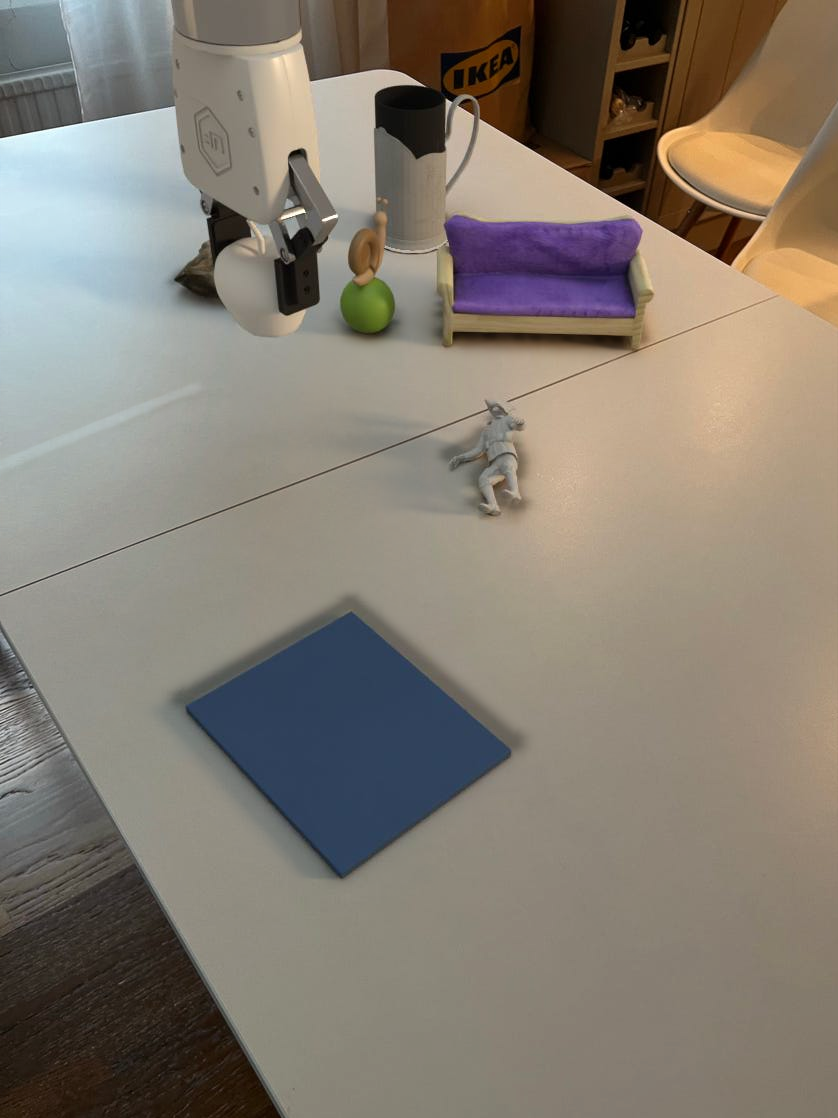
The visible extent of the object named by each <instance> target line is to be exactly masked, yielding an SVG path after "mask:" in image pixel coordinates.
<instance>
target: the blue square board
mask: <svg viewBox="0 0 838 1118" xmlns="http://www.w3.org/2000/svg"><path fill="white" fill-rule="evenodd" d="M185 710H186V712H187V714H188V715H189V716H190V717H191V718H192V719H193V720H194V721H195V722H196V724H198V726H199V727H200V728H201V729H202V730H203V731H204V732H205V733H206V734H207V735H208V736H209V737H210V738H211V739H212V741H213V742H214V743H215V744H216V745H217V746H218V747H219V748H220V749H221V750H222V751H223V753H224V754H225V755H226V756H227V757H228V758H229V759H230V760H231V761H232V763H234V764H235V766H237V768H238V769H239V770H240V771H241V772H242V773H243V774H244V775H245V776H246V778H247V779H248V780H250V782H251V783H252V784H253V785H254V786H255V787H256V788H257V789H258V791H260V793H261V794H262V795H263V796H264V797H265V798H266V799H267V800H268V801H269V802H270V803H271V804H272V806H274V807H275V809H276V810H277V811H278V812H279V813H280V814H281V815H282V816H283V817H284V818H285V820H287V822H288V823H289V824H290V825H291V826H292V827H293V828H294V829H295V830H296V832H298V833H299V835H301V837H302V838H303V839H304V840H305V841H306V842H307V843H308V844H309V846H311V847H312V849H313V850H314V851H315V852H316V853H317V854H318V855H319V856H320V857H321V858H322V859H323V860H324V862H325V863H326V864H327V865H328V866H329V867H330V868H331V869H332V870H333V871H334V872H335V873H336V874H337V876H338V877H339V878H341V879H343V878H345V877H346V876H347V875H349V874H350V873H352V872H353V871H354V870H356V869H358V867H360V866H361V865H362V864H364V863H365V862H367V861H368V860H369V859H370V858H372V857H373V856H375V855H376V854H378V853H379V852H381V851H382V850H383V849H385V848H386V847H387V846H389V845H390V844H391V843H393V842H394V841H396V840H397V839H398V838H400V837H402V835H403V834H405V833H406V832H408V831H410V830H411V829H412V828H413V827H415V826H416V825H417V824H419V823H420V822H422V821H423V820H425V818H427V817H428V816H430V815H431V814H432V813H434V812H435V811H437V810H438V809H439V808H440V807H442V806H444V805H445V804H446V803H447V802H449V801H450V800H452V799H453V798H454V797H456V796H457V795H458V794H460V793H461V792H463V791H464V790H465V789H467V788H468V787H469V786H471V785H472V784H473V783H475V782H477V780H479V779H480V778H482V777H483V776H485V775H486V774H487V773H488V772H490V771H491V770H493V769H494V768H496V767H497V766H499V764H501V763H503V762H504V761H505V760H506V759H508V758H509V757H511V755H512V748H510V747H509V746H508V745H507V744H505V743H504V742H503V741H502V740H500V739H499V738H498V737H497V736H496V735H495V734H494V733H493V732H492V731H490V730H489V729H488V728H487V727H486V726H484V725H483V724H482V723H481V722H480V721H479V720H478V719H476V717H474V716H473V715H472V714H471V713H469V712H468V711H467V710H466V709H465V708H464V707H463V706H461V705H460V704H459V703H458V702H457V701H455V699H453V698H452V697H451V696H450V695H449V694H447V693H446V692H445V691H444V690H443V689H442V688H441V687H440V686H438V685H437V683H435V682H434V681H433V680H432V679H430V678H429V677H428V676H427V675H426V674H425V673H424V672H422V670H420V669H419V668H418V667H416V666H415V664H413V663H412V662H411V661H410V660H409V659H407V658H406V657H405V656H404V655H403V654H402V653H400V652H399V651H398V650H397V649H396V648H395V647H394V646H393V645H391V644H390V643H389V642H388V641H386V640H385V639H384V638H383V637H382V636H381V635H380V634H379V633H377V632H376V631H375V630H374V629H373V628H372V627H371V626H369V625H368V624H367V623H366V621H365V622H364V620H362V618H360V617H359V616H358V615H356V613H354V612H353V611H349V612H347V613H346V614H344V615H342V616H340V617H339V618H337V619H335V620H333V621H331V622H330V623H328V624H326V625H324V626H323V627H321V628H319V629H318V630H316V631H314V632H312V633H311V634H308V635H307V636H306V637H303V638H301V639H300V640H299V641H297V642H295V643H293V644H292V645H289V646H288V647H286V648H284V649H283V650H281V651H279V652H277V653H276V654H274V655H272V656H270V657H268V658H266V660H263V661H262V662H260V663H258V664H257V665H255V666H253V667H251V668H250V669H248V670H246V671H244V672H242V673H241V674H239V675H237V676H235V677H234V678H232V679H230V680H229V681H227V682H225V683H223V684H222V685H220V686H218V687H216V688H214V689H213V690H211V691H209V692H208V693H206V694H204V695H203V696H200V697H199V698H197V699H196V700H193V701H192V702H190V703H188V704H187V705H185Z"/></svg>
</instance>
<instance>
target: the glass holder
mask: <svg viewBox="0 0 838 1118" xmlns="http://www.w3.org/2000/svg"><path fill="white" fill-rule="evenodd" d="M468 99H469V100H470V101H471V103H472V105H473V123H472V124H473V125H472V130H471V136H470V140H469V143H468V147H467V149H466V152H465V154H464V157H463V159H462V160H461V163H460V165H459V166H458V168H457V170H456V171H455V173H454V174H453V175H452V177H451V178H450V179H449V181H448V183H447V152H448V151H447V146H446V143H447V142H448V141H449V140H450V139H451V136H452V131H453V119H454V116H455V112H456V110H457V107H458V106H459V105H460V104H461V102H462V101H464V100H468ZM446 112H447V98H446V95H445V94H444V93H443V92H442V91H440V90H438V89H435V88H432V87H429V86H424V85H418V84H399V85H391V86H387V87H384V88H381V89H380V90H378V91H376V92H375V94H374V126H375V127H373V145H374V146H373V149H374V154H373V155H374V181H375V183H374V184H375V185H374V186H375V200H376V199H377V198H378V197H379V198H381V200H383V199H386V200H387V201H388V203H387V205H386V216H387V222H386V226H385V232H386V237H385V245H386V246H388V247H391V248H395V249H400V250H410V251H415V250H425V249H430V248H433V247H436V246H438V245H440V244H442V243H443V242H444V241H445V240H446V239H447V236H446V231H445V228H444V223H445V222H446V202H447V201H446V199H447V196H448V194H449V192H451V190H452V189H453V188H454V186H455V184H456V183H457V182H458V180H459V179H460V177H461V175H462V174H463V173H464V171H465V170H466V168H467V166H468V164H469V163H470V160H471V158H472V155H473V153H474V150H475V146H476V144H477V143H476V142H477V140H478V135H479V129H480V118H481V112H480V105H479V102H478V100H477V99H476V98H475V97H474V96H473V95H470V94H465V93H463V94H460V95H458V96H457V97H456V98H454V100H453V101H452V102H451V104H450V106H449V108H448V112H447V113H446ZM446 115H447V116H446ZM379 206H380V211H382V212H385V205H383V204H382V201H381V203H379V204H378V203H377V202H376V201H375V213H376V212H378V211H379Z"/></svg>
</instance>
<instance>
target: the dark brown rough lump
mask: <svg viewBox="0 0 838 1118" xmlns="http://www.w3.org/2000/svg"><path fill="white" fill-rule="evenodd" d="M173 281H174V282H175V283H178V284H179V285H181V286H182V287H184V288H185V289H186V290H188V291H189V292H191V293H192V294H194V295H196V296H198V297H202V298H204V299H220V297H219V295H218V293H217V289H216V286H215V281H214V268H213V261H212V254H211V247H210V240H209V239H208V240H206V241H205V242H203V243H201V247H200V248H199V249H198V254H197V255H196V257H194V258H193V259H192V260H190V261H189V262H187V264H186V265H184V267H183V268H182V269H181V270H180V271H179V272H178V274H177V275H176V276H175V277H174V279H173Z"/></svg>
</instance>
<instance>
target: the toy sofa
mask: <svg viewBox="0 0 838 1118" xmlns="http://www.w3.org/2000/svg"><path fill="white" fill-rule="evenodd" d="M444 228H445V231H446V236H447V240H448V242H447V244H448V245H447V244H446V245H442V246H441V247H439V249H438V250H436V291H437V293H438V295H439V296H440V297H441V298H442V301H443V302H442V345H443V346H445V347H446V346H448V347H449V345H450V346H452V344H453V333H454V332H466V333H467V332H468V333H514V334H517V333H518V334H520V333H521V334H522V333H523V334H550V335H551V334H557V335H558V334H561V335H597V336H598V335H599V336H623V337H624V336H625V337H627V339H628V343H629V347H630V349H632V350H639V349H640V347H641V340H642V333H643V326H644V320H645V313H646V307H647V304H649V303H650V302H651V301H652V300H653V299H654V297H655V291H654V287H653V283H652V281H651V276H650V275H649V270H648V267H647V264H646V261H645V257H644V255H643V252H642V251H641V250H640V249H638V247H639V245H640V243H641V240H642V235H643V233H644V231H643V228H642V226H641V224H639V222H638V220H637V218H636V217H635V216H634V215H630V214H624V215H619V216H615V217H611V218H605V219H593V220H592V219H588V220H586V219H585V220H579V219H577V220H537V219H536V220H535V219H534V220H533V219H531V220H530V219H528V220H527V219H509V220H507V219H490V218H485V217H481V216H478V215H475V214H472V213H469V212H466V211H461V210H459V211H455V212H453V213H452V214H451V217H450V218H449V219H448V220H447V221H445V223H444Z"/></svg>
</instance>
